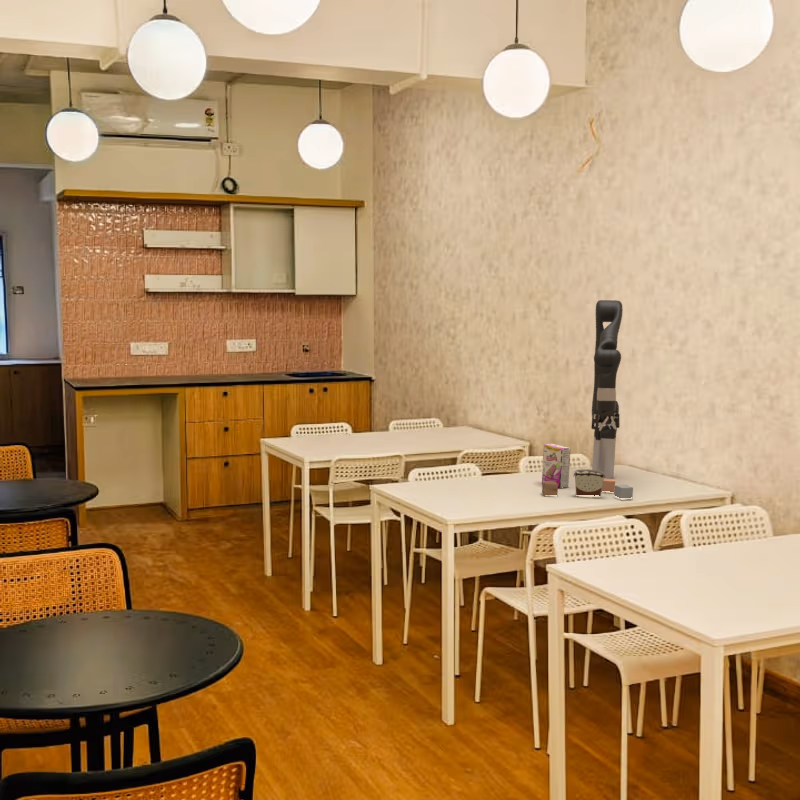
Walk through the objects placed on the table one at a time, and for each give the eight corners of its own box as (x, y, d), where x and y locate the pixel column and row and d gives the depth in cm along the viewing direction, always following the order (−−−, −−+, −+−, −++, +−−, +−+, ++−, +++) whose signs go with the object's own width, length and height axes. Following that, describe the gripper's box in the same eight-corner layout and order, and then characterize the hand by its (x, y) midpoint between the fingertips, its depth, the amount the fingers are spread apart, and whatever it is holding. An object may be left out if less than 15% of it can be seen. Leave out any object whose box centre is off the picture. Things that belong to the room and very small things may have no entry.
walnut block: (541, 493, 394) (542, 481, 394) (554, 494, 395) (555, 481, 394) (544, 496, 389) (545, 484, 389) (557, 496, 390) (557, 484, 389)
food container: (602, 495, 395) (604, 470, 394) (604, 498, 389) (605, 473, 388) (571, 493, 396) (572, 468, 395) (572, 496, 390) (573, 471, 389)
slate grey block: (614, 497, 391) (614, 485, 391) (625, 497, 393) (626, 484, 392) (620, 500, 387) (621, 488, 386) (632, 500, 388) (633, 487, 388)
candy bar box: (540, 483, 413) (543, 444, 411) (550, 482, 416) (552, 443, 414) (559, 488, 404) (562, 448, 402) (569, 487, 407) (571, 447, 405)
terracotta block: (600, 490, 404) (601, 478, 404) (613, 491, 404) (613, 478, 403) (601, 493, 399) (602, 480, 399) (614, 493, 399) (615, 481, 398)
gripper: (610, 398, 411) (609, 437, 413) (587, 399, 403) (586, 439, 404) (625, 399, 406) (624, 439, 407) (601, 400, 397) (600, 441, 398)
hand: (605, 439), depth 405 cm, fingers open, 8 cm apart
